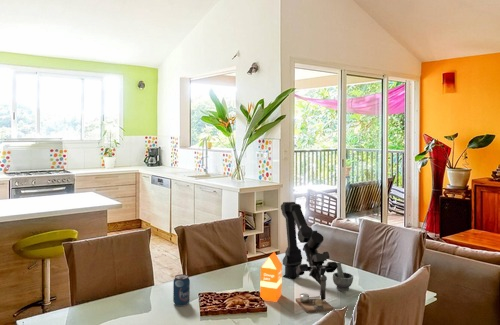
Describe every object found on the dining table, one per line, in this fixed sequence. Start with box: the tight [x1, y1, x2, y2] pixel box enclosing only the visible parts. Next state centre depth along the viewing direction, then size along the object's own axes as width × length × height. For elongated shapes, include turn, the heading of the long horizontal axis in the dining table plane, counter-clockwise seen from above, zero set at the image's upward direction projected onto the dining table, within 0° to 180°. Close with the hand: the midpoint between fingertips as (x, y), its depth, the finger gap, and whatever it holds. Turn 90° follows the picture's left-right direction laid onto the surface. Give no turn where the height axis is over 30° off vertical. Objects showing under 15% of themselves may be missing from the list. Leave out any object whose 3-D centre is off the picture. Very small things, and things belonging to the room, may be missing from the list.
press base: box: [295, 295, 334, 314], centre depth 175 cm, size 13×12×5 cm
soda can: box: [172, 273, 191, 307], centre depth 175 cm, size 7×7×12 cm
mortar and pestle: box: [332, 261, 354, 293], centre depth 196 cm, size 11×9×12 cm
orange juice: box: [259, 251, 283, 303], centre depth 184 cm, size 8×9×20 cm
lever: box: [299, 274, 328, 303], centre depth 176 cm, size 4×12×12 cm, turn 90°
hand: (322, 285), depth 178 cm, fingers closed
